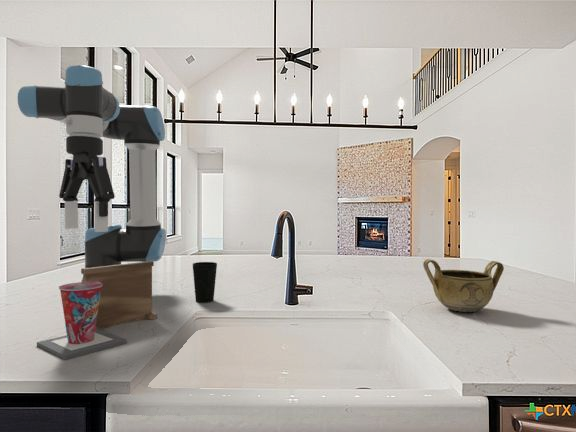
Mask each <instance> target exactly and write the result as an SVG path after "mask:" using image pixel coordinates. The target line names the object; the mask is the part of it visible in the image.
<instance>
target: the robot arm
mask: <svg viewBox="0 0 576 432" xmlns="http://www.w3.org/2000/svg"><path fill="white" fill-rule="evenodd" d="M103 84H104V82H103V74H102V71H100V70H99V69H98V68H96V67H93V66H87V65H82V64H81V65H80V64H79V65H78V64H77V65H75V64H74V65H69V66H68V67H67V68H66V69H65V79H64V87H63V86H42V85H40V86H39V85H38V86H37V85H31V86H30V85H26V86H22V87H20V88H19V90H18V93H17V105H18V109H19V111H20V112H21V113H22V114H23V116H24V117H27V118H35V119H49V120H51V121H52V120H53V121H57V122H60V123H64V124H65V125H66V128H65V129H66V130H65V132H66V134H67V135H68V136H67V137H66V138H65V143H66V144H65V147H66V150H65V151H66V153H68V155H72V156H73V157H72V159H68V158H65V162H64V163H65V164H64V167H65V168H64V172H63V176H62V181H61V186H60V191H59V195H58V197H59V198H60V199H62V200H63V201H64V229H66V230H69V229H78V228H79V213H78V212H79V210H78V209H79V207H78V205H79V204H78V201H79V199H78V197H77V196H78V193H80V189H81V187H82V185H83V182H84V181H85V180H87V182H88V184H89V186H90V188H91V190H92V194H94V197H95V198H94V200H93V203H94V211H93V214H94V218H93V219H94V222H93V223H94V227H90V228H88V229H86V231H85V235H84V268H91V267H100V266H109V265H119V264H122V263H125V262H127V263H137V262H146V261H153V262H159V261H160V260H161V259H162V256H163V255H164V252H165V246H166V243H167V242H166V241H167V233H166V232H167V231H166V229H165V228H162V225H161V222H160V221H159V220H158V219H157V187H156V186H157V181H156V179H157V178H156V177H157V176H156V173H157V172H156V169H157V168H156V165H157V164H156V162H157V161H156V150H158V148H160V146H161V145H160V144H161V142H162V141H163V142H164V140H165V138H166V137H165V136H166V132H165V131H166V129H165V123H164V119H163V116H162V112H161V111H160V109H159V108H158V107H157V106H151V105H145V104H143V105H139V104H138V105H136V104H135V105H134V104H133V105H132V104H130V105H129V104H120V102H119V100H118V99H117V98H116V96H115V95H114V94H113V93H112V92H110V91H109V90H107V89H106V88H104V87H103ZM102 138H105V139H111V140H120V141H121V140H122V141H124V142H123V143H124V146H125V147H126V148H127V149H128V153H129V154H128V156H129V158H128V161H129V201H130V202H129V205H130V207H129V210H130V212H129V213H130V216H129V217H130V219H129V220H128V222H126V224H125V228H123V226H122V225H121V224H115V225H109V202H110V201H111V200H114V199H115V197H116V196H115V192H114V189H113V185H112V182H111V177H110V175H109V171H108V167H107V158H106V157H104V156H101V155H103V154H104V141H103V139H102ZM80 282H83V277H82V279H81V281H80Z"/></svg>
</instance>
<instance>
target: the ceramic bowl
mask: <svg viewBox="0 0 576 432" xmlns="http://www.w3.org/2000/svg"><path fill="white" fill-rule="evenodd" d="M429 263H431V264H432V266H433V267H434V275H433V274H432V272H431V269H430V267H429ZM422 265H423V268H424V271H425V273H426V276H427V277H428V279H429V281H430V284H431V285H432V289H433V292H434V295H435V298H436V299H437V301H439V302H440V304H442V305H443V306H444V307H445V308H447V309H449V310H451V311H453V310H454V311H453V312H456V311H459V312H458V313H463V312H470V313H474V312H478V311H480V310H483V309H484V308H485V307H486V306H487V305H488V304H489V303H490V301H492V298H493V295H494V291H495V290H496V287H497V286H498V283H499V282H500V278H501V276H502V275H503V273H504V270H505V267H504V265H503V263H502V262H500V261H496V260H491V261H490V262H488V264H487V265H486V266H485V268H484V271H483V272H481V271H477V270H476V271H473V270H465V269H464V270H463V269H441V266H440V265H439V263H438V262H437V261H436V260H435V259H431V258H426V259H424V261H423V263H422ZM495 266H496V269H495V271H494V273H493V276H492V269H493V268H494V267H495Z"/></svg>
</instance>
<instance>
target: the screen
mask: <svg viewBox="0 0 576 432" xmlns="http://www.w3.org/2000/svg"><path fill="white" fill-rule="evenodd" d="M154 262H155V261H146V262H127V263H121V264H119V265H109V266H100V267H91V268H85V267H84V268H83V267H82V268H80V271H81V273H80V274H81V275H82V278H83V282H92V281H94V282H101V283H102V284H103V286H102V287H101V294H100V300H99V307H98V314H97V322H96V329H99V330H102V329H105V328H109V327H113V326H116V325H117V326H119V325H122V323H123V324H126V323H129V322H134V321H140V320H143V319H148V320H154V319H158V314H157V313H153V267H154V266H155V263H154Z"/></svg>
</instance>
